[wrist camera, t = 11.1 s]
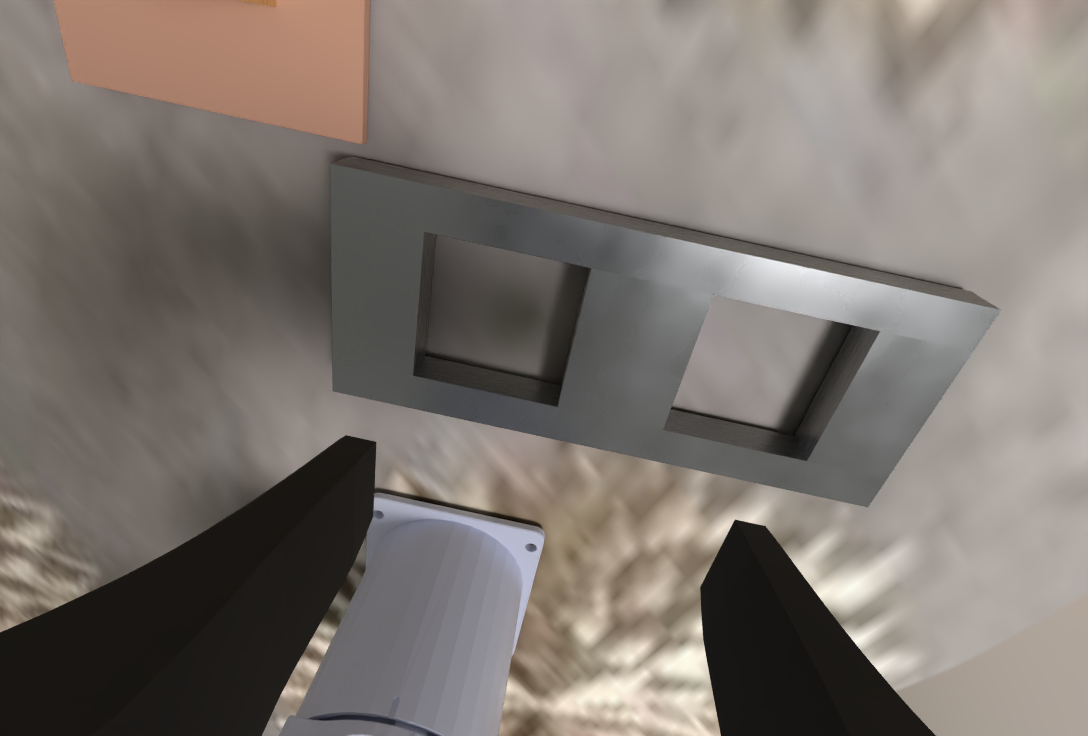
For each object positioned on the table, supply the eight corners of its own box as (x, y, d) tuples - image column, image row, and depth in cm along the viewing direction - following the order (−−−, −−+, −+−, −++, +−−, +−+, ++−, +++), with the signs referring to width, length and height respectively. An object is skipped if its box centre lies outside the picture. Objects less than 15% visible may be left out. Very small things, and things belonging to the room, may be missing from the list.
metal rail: (851, 479, 21) (867, 507, 20) (350, 371, 21) (332, 391, 20) (970, 291, 17) (1001, 310, 16) (351, 156, 17) (330, 163, 16)
